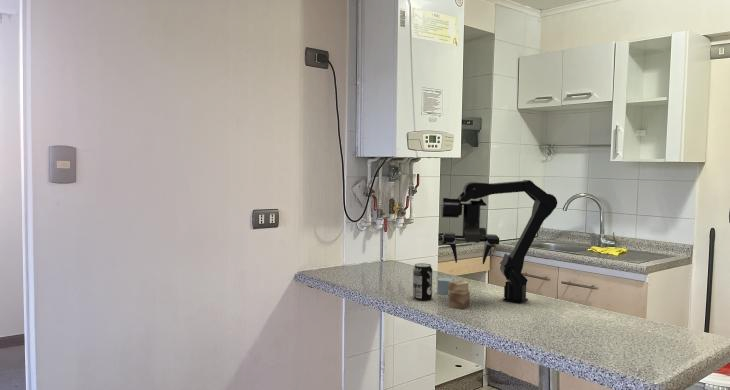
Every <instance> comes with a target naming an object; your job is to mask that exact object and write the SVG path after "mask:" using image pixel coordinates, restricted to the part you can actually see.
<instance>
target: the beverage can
mask: <svg viewBox="0 0 730 390" xmlns="http://www.w3.org/2000/svg"><path fill="white" fill-rule="evenodd" d="M412 271H413V272H412V275H413V276H412V290H413V291H412V297H413V298H414V300H416V301H422V302H424V301H430V300H431V299H432V298H433V268H432V264H431V263H424V262H423V263H421V262H419V263H415V264H414V267H413V269H412Z"/></svg>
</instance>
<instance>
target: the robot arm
mask: <svg viewBox="0 0 730 390" xmlns="http://www.w3.org/2000/svg"><path fill="white" fill-rule="evenodd" d="M523 192H524V193H525V194H526V195H527V196H528V197H529V198H530V199H532V200H533V201H534V203H533V204H532V210H531V215H530V218H529V220H528V221H527V223H526V225H525V227H524V229H523V230H522V233H521V234H520V237H519V239H518V241H517V242H516V244H515V246H514V247H513V250H512V251H511V252H510V253H504V255H503V257H502V260H501V261H500V262H499V264H500V267H499V270H500V273H501V274H502V275H503V276H504V278H505V279H506V281H505V284H504V286H503V289H504V290H503V298H502V301H506V302H512V303H517V304H522V303H525V302H527V301H528V300H529V298H528V297H527V283H528V278H527V277H525V276H524V274H523V273H522V271H523V267H524V264H525V257H526V255H527V254H528V252H529V249H530V247H531V246H532V244H533V242H534V240H535V238H536V236H537V234H538V233H539V231H540V229H541V227H542V225H543V223H544V221H545V220H547V218H548V217H549V216H551V214H552V213H553V212H554V211H555V209H556V208H557V206H558V199H557V198H556V196H555V195H554V194H552V193H547V192H546V191H544V190H543V189H542V188H540V187H539V186H538V185H537V184H535V183H534V182H533V181H532V180H530V179H523V180H517V181H505V182H504V181H503V182H494V183H491V182H490V183H488V182H476V181H469V182H466V183H465V184H464V186H463V187H462V192H461V194H460V195H459V196H458V197H457V198H448V197H443V198H442V202H441V203H442V204H441V206H440V207H441V210H440V211H441V212H440V213H441V215H440V216H441V218H446V219H447V218H448V219H449V218H452V219H458V218H459V216H462V235H460V234H459V235H458V234H456V233H455V232H444V233H442V235H443V236H442V243H446V245H448V246H450V248H451V250H452V254H453V258H454V261H455V264H457V262H458V256H457V255H458V254H457V244H456V241H460V242H463V241H464V242H466V243H476V244H479V243H482V242H484V245H483V253H482V254H483V255H482V265H484V264H485V262H486V260H487V258H488V255H489V252H490V251H491V249H492V248H495V247H496V245H498V246H499V245H500V237H499V236H498V235H497V234H492V233H491V234H489V233H487V229H486V227H480V225H481V224H480V223H481V222H480V221H481V207H487V203H486V202H485V201H484V200H483V198H484V197H485V198H486V197H487V196H491V195H497V194H499V195H501V194H510V193H511V194H512V193H523Z"/></svg>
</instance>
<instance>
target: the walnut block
mask: <svg viewBox="0 0 730 390" xmlns="http://www.w3.org/2000/svg"><path fill="white" fill-rule="evenodd" d="M470 295H471V294H470V291H469V290H468V291H463V290H456V289H455V290H453V291H451V292H450V293H449V295H448V297H449V305H448V307H449V308H452V309H459V310H465V309H467V308H469V307H470ZM468 306H469V307H468Z"/></svg>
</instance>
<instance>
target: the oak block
mask: <svg viewBox="0 0 730 390" xmlns="http://www.w3.org/2000/svg"><path fill="white" fill-rule="evenodd" d="M469 286H470V285H469V282H466V281H464V280H457V279H456V280H454V281H451V282H448V296H449V293H450V292H451V291H453V290H455V289H456V290H463V291H469Z"/></svg>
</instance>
